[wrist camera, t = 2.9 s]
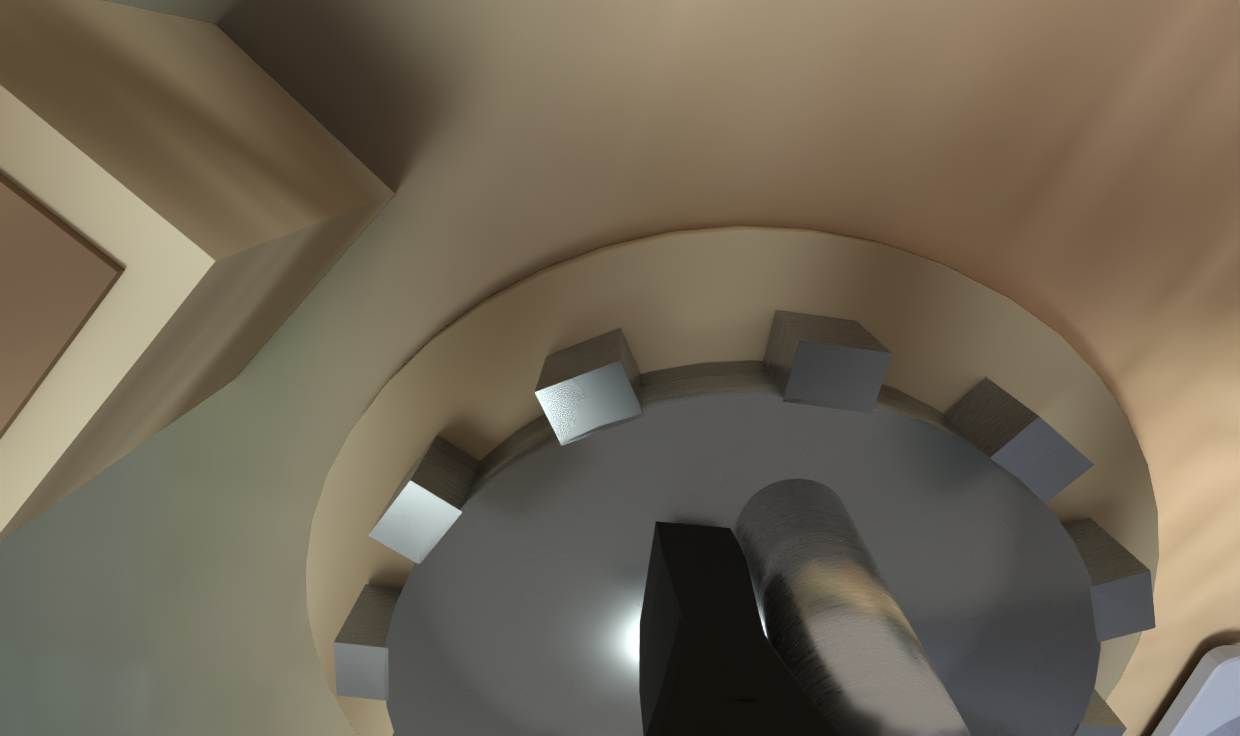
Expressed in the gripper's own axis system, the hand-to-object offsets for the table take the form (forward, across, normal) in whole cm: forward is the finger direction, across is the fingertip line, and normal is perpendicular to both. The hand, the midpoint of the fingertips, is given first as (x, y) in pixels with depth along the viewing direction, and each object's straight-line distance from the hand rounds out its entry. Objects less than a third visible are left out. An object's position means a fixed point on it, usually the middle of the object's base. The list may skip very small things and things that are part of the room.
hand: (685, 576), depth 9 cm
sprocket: (+3, -2, +4) cm, 5 cm away
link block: (+3, +8, -4) cm, 10 cm away
